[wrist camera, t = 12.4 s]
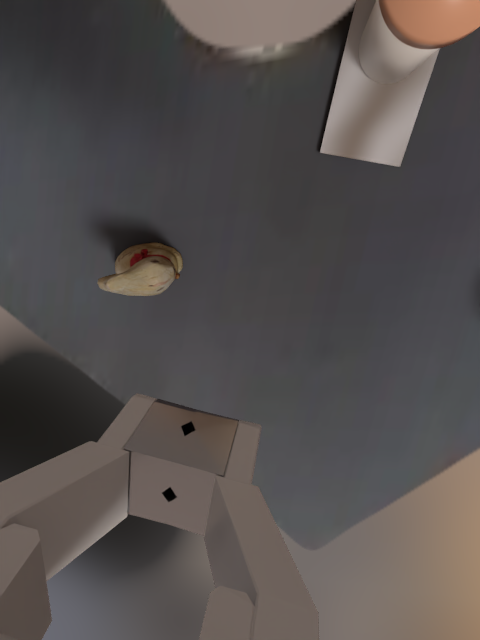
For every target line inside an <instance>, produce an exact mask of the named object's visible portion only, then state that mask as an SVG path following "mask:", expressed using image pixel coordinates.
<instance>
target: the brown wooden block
mask: <svg viewBox="0 0 480 640" xmlns="http://www.w3.org/2000/svg"><path fill="white" fill-rule="evenodd" d="M375 2H376V0H356V3H355V7H354V11H353V15H352V19H351V24H350V28H349V32H348V36H347V40H346V45H345V49H344V53H343V57H342V61H341V65H340V70H339V74H338V78H337V82H336V86H335V91H334V95H333V99H332V103H331V107H330V112H329V116H328V120H327V124H326V128H325V132H324V137H323V141H322V145H321V149H320V153H324V154H330V155H335V156H341V157H347V158H352V159H358V160H363V161H369V162H375V163H380V164H386V165H391V166H397V167H400V165H401V162H402V159H403V156H404V153H405V150H406V147H407V144H408V141H409V138H410V135H411V132H412V129H413V126H414V123H415V120H416V117H417V114H418V111H419V108H420V105H421V102H422V99H423V96H424V94H425V91H426V88H427V85H428V82H429V79H430V76H431V73H432V70H433V67H434V64H435V61H436V58H437V55H438V52H439V49H440V48H439V49H438V50H437V51H435V52H434V53H433V54H432V55H431V56H430V57H429V58H428V59H427V60H425V61H424V62H423V63H422V64H421V65H420V66H419V67H418V68H416V69H415V70H414V71H413V72H412V73H411V74H410V75H408V76H407V77H405V78H404V79H402V80H400V81H398V82H395V83H389V84H383V83H378V82H376V81H374V80H372V79H370V78H369V77H368V76H367V75H366V73H365V72H364V70H363V69H362V66H361V63H360V59H359V44H360V39H361V36H362V33H363V31H364V28H365V26H366V24H367V21H368V19H369V16H370V14H371V12H372V9H373V7H374V4H375Z"/></svg>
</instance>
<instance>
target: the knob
mask: <svg viewBox="0 0 480 640" xmlns="http://www.w3.org/2000/svg"><path fill="white" fill-rule="evenodd" d="M479 26H480V0H376V2H375V4H374V7H373V9H372V12H371V14H370V16H369V19H368V21H367V24H366V26H365V28H364V31H363V33H362V36H361V39H360V44H359V59H360V63H361V66H362V69H363V70H364V72H365V73H366V75H367V76H368V77H369V78H370V79H372V80H374V81H376V82H378V83H383V84H389V83H395V82H398V81H400V80H402V79H404V78H405V77H407V76H408V75H410V74H411V73H412V72H413V71H414V70H415V69H416V68H418V67H419V66H420V65H421V64H422V63H423V62H424V61H425V60H427V59H428V58H429V57H430V56H431V55H432V54H433V53H434V52H435V51H437V50H438V49H439V48H442V47H446V46H448V45H451V44H454V43H456V42H458V41H460V40H462V39H463V38H465V37H466V36H468V35H469V34H471V33H472V32H473V31H474V30H476V29H477V28H478V27H479Z"/></svg>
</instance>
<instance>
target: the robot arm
mask: <svg viewBox="0 0 480 640" xmlns="http://www.w3.org/2000/svg"><path fill="white" fill-rule="evenodd" d="M238 423H239V424H238ZM260 433H261V425H259V424H255V423H251V422H247V421H242V420H240V421H239V420H237V419H233V418H229V417H224V416H220V415H216V414H212V413H208V412H204V411H200V410H196V409H193V408H189V407H185V406H182V405H178V404H175V403H171V402H168V401H164V400H161V399H155V398H152V397H148V396H145V395H141V394H136V395H134V396H133V397H131V399H130V400H129V401H128V403H127V404H126V405H125V407H124V408H123V409H122V411H121V412H120V413H119V415H118V416H117V417H116V419H115V420H114V421H113V422H112V424H111V425H110V426H109V428H108V429H107V430H106V432H105V433H104V434H103V435H102V437H101V438H100V439H99V441H98V442H97V443H96V442H92V441H90V442H87V443H85V444H83V445H81V446H79V447H77V448H75V449H72V450H70V451H68V452H66V453H63V454H61V455H59V456H57V457H55V458H53V459H51V460H48V461H46V462H44V463H42V464H40V465H38V466H35V467H33V468H31V469H29V470H27V471H25V472H22V473H20V474H18V475H16V476H14V477H12V478H9V479H7V480H5V481H3V482H1V483H0V640H42V638H43V636H44V634H45V632H46V631H47V628H48V627H49V625H50V623H51V621H52V617H51V610H50V603H49V596H48V589H47V584H46V581H47V580H49V579H50V578H51V577H52V576H54V575H55V574H56V573H57V572H59V571H60V570H61V569H62V568H64V567H65V566H66V565H67V564H69V563H70V562H71V561H72V560H74V559H75V558H76V557H77V556H78V555H80V554H81V553H82V552H84V551H85V550H86V549H87V548H88V547H90V546H91V545H92V544H94V543H95V542H96V541H97V540H99V539H100V538H101V537H102V536H104V535H105V534H106V533H107V532H108V531H110V530H111V529H112V528H114V527H115V526H116V525H117V524H118V523H120V522H121V521H122V520H124V519H125V518H126V517H127V514H131V515H134V516H138V517H142V518H146V519H150V520H154V521H158V522H162V523H165V524H166V523H167V524H169V525H172V526H175V527H178V528H181V529H184V530H187V531H190V532H194V533H197V534H200V535H203V536H204V540H205V544H206V549H207V554H208V558H209V562H210V567H211V571H212V576H213V580H214V585H215V590H213V591H212V592H210V596H209V600H208V605H207V609H206V613H205V617H204V621H203V625H202V629H201V633H200V637H199V640H319V619H318V611H317V609H316V607H315V605H314V603H313V601H312V598H311V596H310V594H309V592H308V590H307V588H306V586H305V584H304V582H303V580H302V578H301V575H300V574H299V571H298V569H297V567H296V565H295V563H294V561H293V559H292V556H291V554H290V552H289V550H288V548H287V546H286V544H285V542H284V540H283V538H282V536H281V533H280V531H279V529H278V527H277V525H276V523H275V521H274V519H273V517H272V514H271V512H270V510H269V508H268V506H267V504H266V502H265V500H264V498H263V496H262V493H261V491H260V489H259V487H257V486H254V485H251V484H252V478H253V473H254V467H255V461H256V456H257V450H258V444H259V438H260Z"/></svg>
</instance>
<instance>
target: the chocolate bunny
mask: <svg viewBox="0 0 480 640" xmlns="http://www.w3.org/2000/svg"><path fill="white" fill-rule="evenodd" d="M182 267H183V261H182V257H181V254H180V253H179V252H178V251H176V249H174V248H173V247H168V246H166V245H163V244H161V243H145V244H139V245H134V246H131V247H129V248H127V249H126V250H124V251H123V252H122V253H121V254H120V255H119V256H118V258H117V260H116V262H115V271H116V274H113V275H109V276H105V277H102V278H100V279H98V285H99V287H100V288H101V289H103V290H105V291H109V292H114V293H120V294H124V295H129V296H145V297H146V296H149V295H157V294H160V293H162V292H163V291H164V290H166V289H167V288H168V287H169V286H170V284H171V283H172V282H173V281H174V279H178V278H179V277H180V274H179V272H180V271H181V269H182Z"/></svg>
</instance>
